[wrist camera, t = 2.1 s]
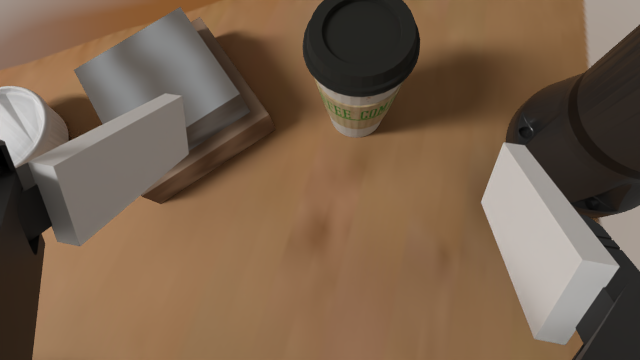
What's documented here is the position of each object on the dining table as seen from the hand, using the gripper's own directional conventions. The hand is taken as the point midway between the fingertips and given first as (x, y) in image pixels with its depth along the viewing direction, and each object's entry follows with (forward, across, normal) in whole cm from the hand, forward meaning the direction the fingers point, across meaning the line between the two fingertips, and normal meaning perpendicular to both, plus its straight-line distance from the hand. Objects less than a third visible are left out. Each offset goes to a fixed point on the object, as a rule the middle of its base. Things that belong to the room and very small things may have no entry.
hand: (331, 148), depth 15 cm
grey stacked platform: (+25, -21, -10) cm, 34 cm away
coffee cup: (+28, 0, -8) cm, 29 cm away
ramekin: (+21, -39, -16) cm, 47 cm away
